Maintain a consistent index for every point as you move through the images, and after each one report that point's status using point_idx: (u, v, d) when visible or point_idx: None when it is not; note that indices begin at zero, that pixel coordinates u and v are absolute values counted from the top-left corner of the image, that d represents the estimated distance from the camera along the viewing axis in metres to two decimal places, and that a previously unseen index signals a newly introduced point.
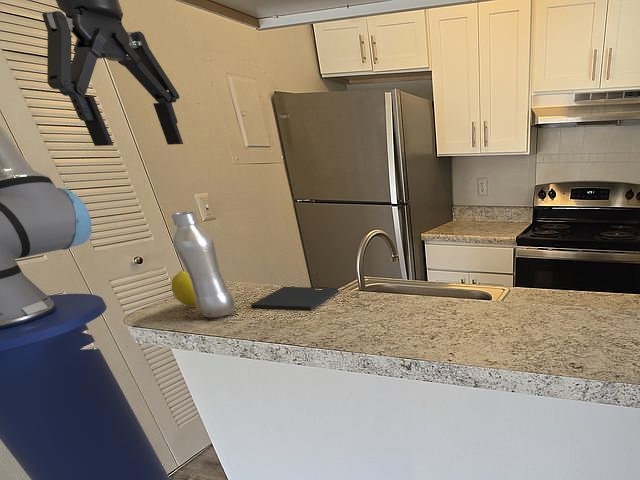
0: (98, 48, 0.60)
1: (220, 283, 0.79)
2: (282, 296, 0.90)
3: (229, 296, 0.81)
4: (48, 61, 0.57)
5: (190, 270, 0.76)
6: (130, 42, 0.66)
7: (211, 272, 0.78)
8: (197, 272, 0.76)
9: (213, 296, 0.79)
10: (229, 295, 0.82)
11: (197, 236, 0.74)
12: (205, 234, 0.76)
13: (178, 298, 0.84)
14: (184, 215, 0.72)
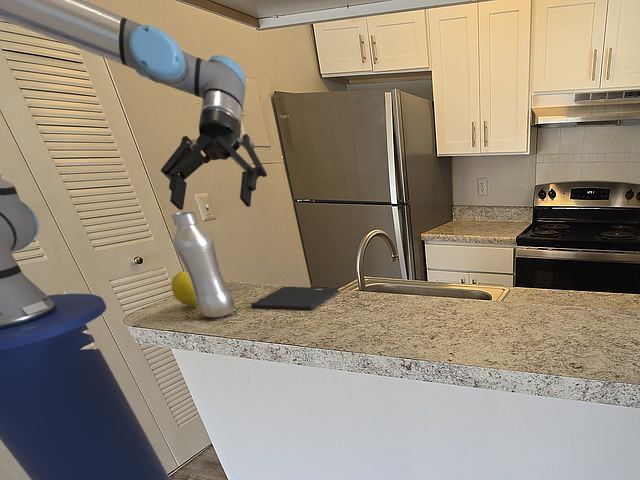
0: None
1: (220, 283, 0.79)
2: (282, 296, 0.90)
3: (229, 296, 0.81)
4: (256, 156, 0.85)
5: (190, 270, 0.76)
6: (195, 146, 0.86)
7: (211, 272, 0.78)
8: (197, 272, 0.76)
9: (213, 296, 0.79)
10: (229, 295, 0.82)
11: (197, 236, 0.74)
12: (205, 234, 0.76)
13: (178, 298, 0.84)
14: (184, 215, 0.72)
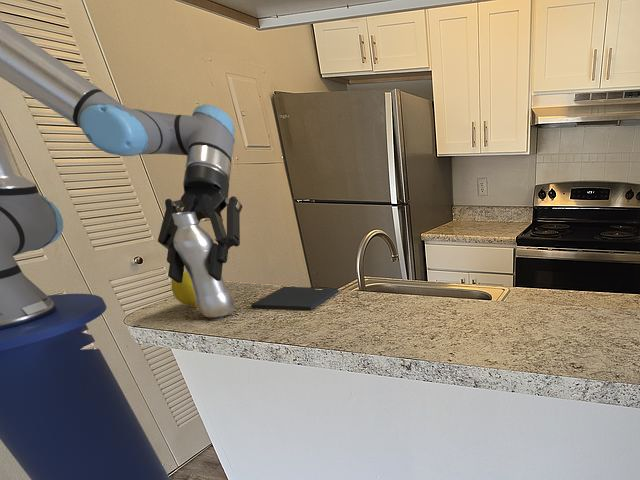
0: None
1: (220, 283, 0.79)
2: (282, 296, 0.90)
3: (229, 296, 0.81)
4: (233, 225, 0.78)
5: (190, 270, 0.76)
6: (180, 207, 0.80)
7: None
8: (198, 272, 0.76)
9: (213, 296, 0.79)
10: (229, 295, 0.82)
11: (197, 236, 0.74)
12: (205, 234, 0.76)
13: (178, 298, 0.84)
14: (185, 215, 0.72)
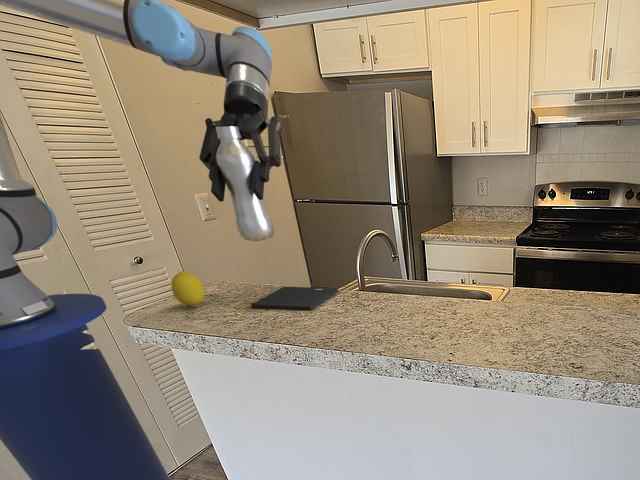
0: None
1: (261, 204, 0.78)
2: (282, 296, 0.90)
3: (269, 219, 0.80)
4: (275, 143, 0.77)
5: (232, 187, 0.75)
6: None
7: None
8: (240, 190, 0.75)
9: (254, 217, 0.78)
10: (269, 218, 0.80)
11: (241, 151, 0.73)
12: (248, 150, 0.74)
13: (178, 298, 0.84)
14: (229, 127, 0.71)
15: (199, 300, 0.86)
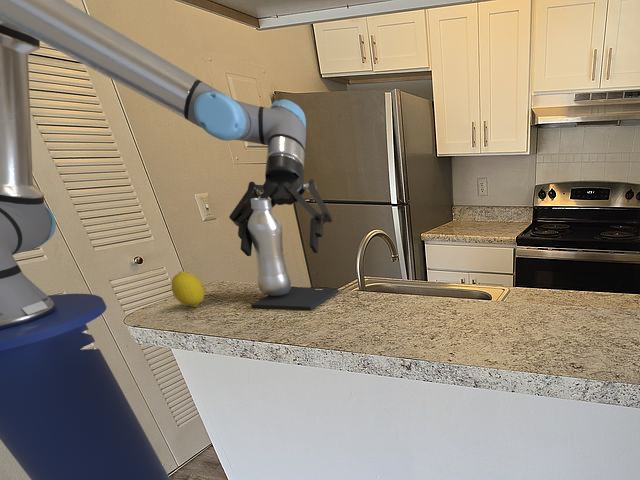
0: None
1: (283, 265, 0.87)
2: (282, 296, 0.90)
3: (288, 278, 0.89)
4: (323, 202, 0.85)
5: (259, 250, 0.84)
6: (260, 191, 0.87)
7: (277, 254, 0.85)
8: (266, 253, 0.84)
9: (276, 276, 0.86)
10: (288, 277, 0.89)
11: (271, 221, 0.82)
12: (277, 219, 0.84)
13: (178, 298, 0.84)
14: (263, 201, 0.80)
15: (199, 300, 0.86)
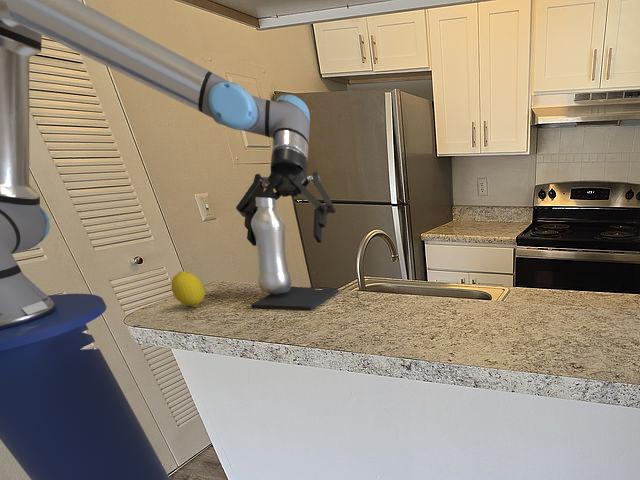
0: None
1: (284, 263, 0.88)
2: (282, 296, 0.90)
3: (289, 276, 0.89)
4: (326, 194, 0.88)
5: (261, 247, 0.85)
6: (266, 183, 0.90)
7: (278, 251, 0.86)
8: (267, 250, 0.85)
9: (276, 273, 0.87)
10: (289, 275, 0.90)
11: (274, 218, 0.84)
12: (280, 218, 0.85)
13: (178, 298, 0.84)
14: (267, 198, 0.82)
15: (199, 300, 0.86)
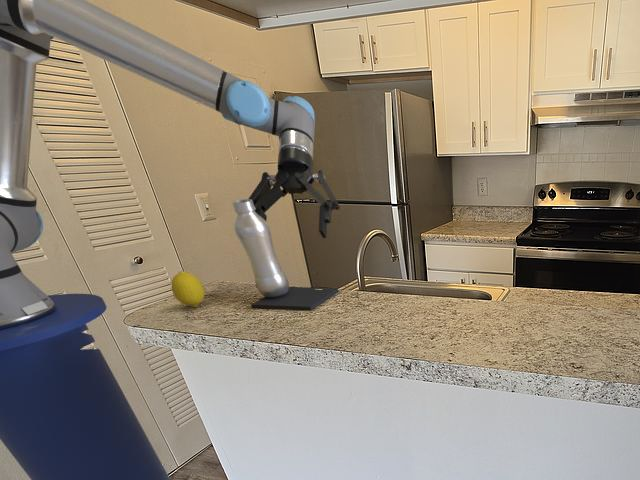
0: None
1: (277, 265, 0.86)
2: (282, 296, 0.90)
3: (284, 277, 0.88)
4: (331, 191, 0.92)
5: (250, 254, 0.83)
6: (273, 181, 0.94)
7: (269, 255, 0.84)
8: (257, 256, 0.83)
9: (272, 277, 0.86)
10: (284, 276, 0.89)
11: (256, 222, 0.80)
12: (262, 220, 0.82)
13: (178, 298, 0.84)
14: (244, 203, 0.78)
15: (199, 300, 0.86)
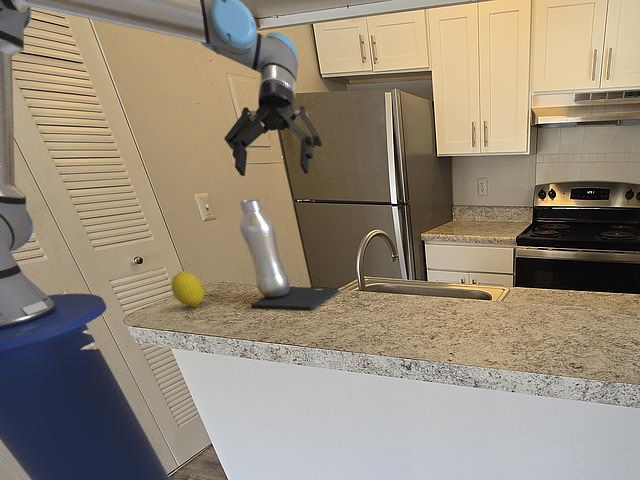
0: None
1: (279, 265, 0.87)
2: (282, 296, 0.90)
3: (286, 277, 0.89)
4: (313, 126, 0.90)
5: (253, 252, 0.84)
6: (254, 117, 0.92)
7: (272, 255, 0.85)
8: (260, 255, 0.84)
9: (273, 277, 0.86)
10: (286, 277, 0.89)
11: (262, 222, 0.82)
12: (268, 220, 0.83)
13: (178, 298, 0.84)
14: (251, 202, 0.80)
15: (199, 300, 0.86)
